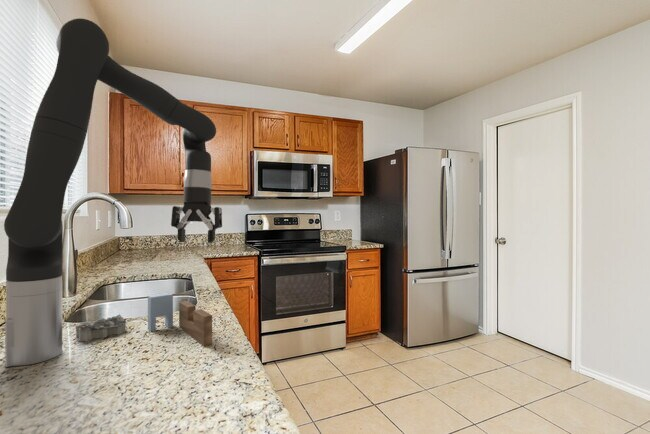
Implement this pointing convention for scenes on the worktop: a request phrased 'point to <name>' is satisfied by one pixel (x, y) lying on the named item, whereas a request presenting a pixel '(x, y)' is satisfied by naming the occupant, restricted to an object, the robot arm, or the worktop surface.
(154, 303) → the notched block
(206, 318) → the slotted plate
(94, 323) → the egg carton
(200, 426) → the worktop surface
